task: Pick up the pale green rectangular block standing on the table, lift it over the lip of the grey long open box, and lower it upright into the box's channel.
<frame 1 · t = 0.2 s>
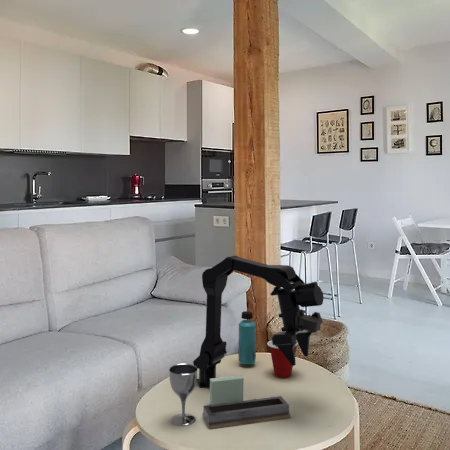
hand: (300, 360, 149), 15 cm above the table, tool pointing down, fingers open, 9 cm apart
beverage bottle: (246, 365, 186), on the table
grey long open box: (246, 417, 146), on the table
wine glass: (183, 420, 144), on the table
plastic cup: (282, 375, 177), on the table
pale green rectangular block: (226, 403, 155), on the table
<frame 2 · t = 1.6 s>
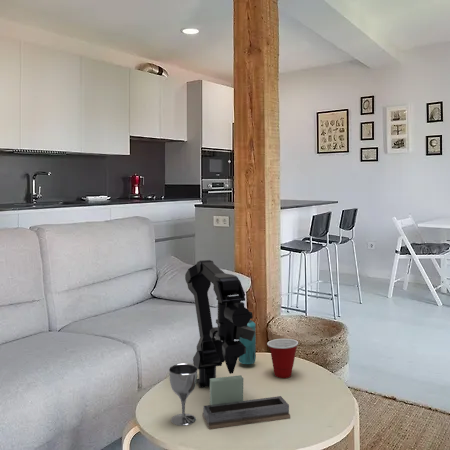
hand: (226, 367, 154), 11 cm above the table, tool pointing down, fingers open, 9 cm apart
nothing on the table moved.
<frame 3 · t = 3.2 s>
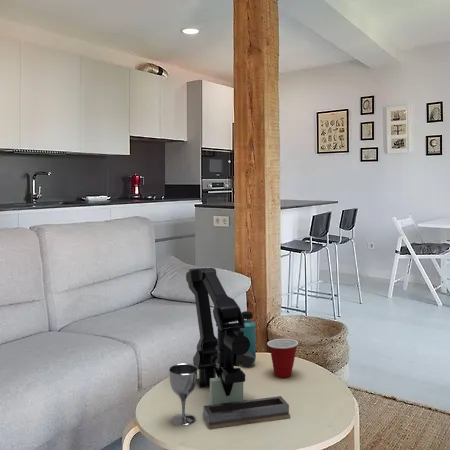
hand: (226, 393, 154), 3 cm above the table, tool pointing down, fingers closed on pale green rectangular block, 2 cm apart
pale green rectangular block: (226, 403, 155), on the table, touching gripper
everything else where it was.
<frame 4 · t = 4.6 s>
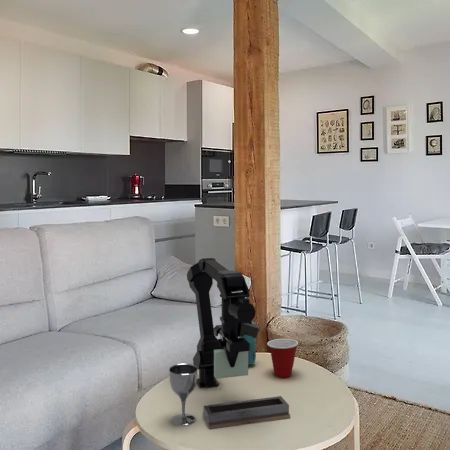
hand: (231, 365, 151), 13 cm above the table, tool pointing down, fingers closed on pale green rectangular block, 2 cm apart
pale green rectangular block: (231, 375, 152), point 10 cm above the table, touching gripper
everything else where it was.
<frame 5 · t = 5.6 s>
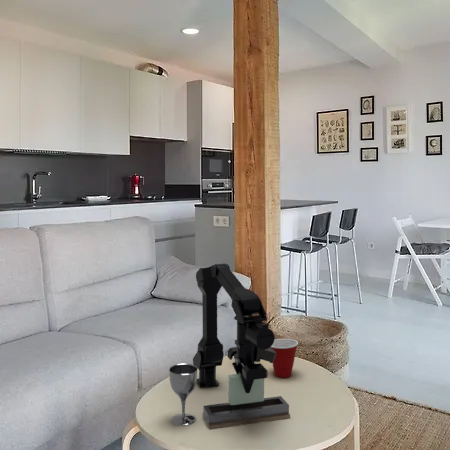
hand: (246, 391, 145), 8 cm above the table, tool pointing down, fingers closed on pale green rectangular block, 2 cm apart
pale green rectangular block: (246, 401, 146), point 5 cm above the table, touching gripper
everything else where it was.
when the fingers open (5 cm above the table, at t = 6.3 s): pale green rectangular block stays where it is, resting on grey long open box.
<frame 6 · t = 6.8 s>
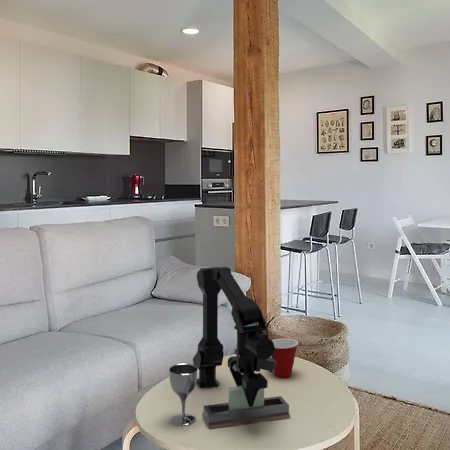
hand: (246, 400, 145), 5 cm above the table, tool pointing down, fingers open, 8 cm apart
pale green rectangular block: (246, 413, 146), point 1 cm above the table, touching grey long open box
everything else where it was.
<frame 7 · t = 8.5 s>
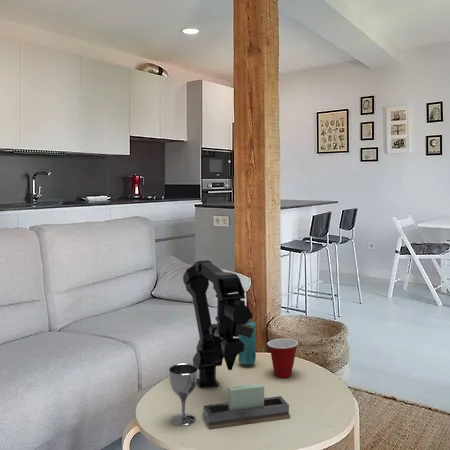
hand: (225, 364, 156), 12 cm above the table, tool pointing down, fingers open, 9 cm apart
nothing on the table moved.
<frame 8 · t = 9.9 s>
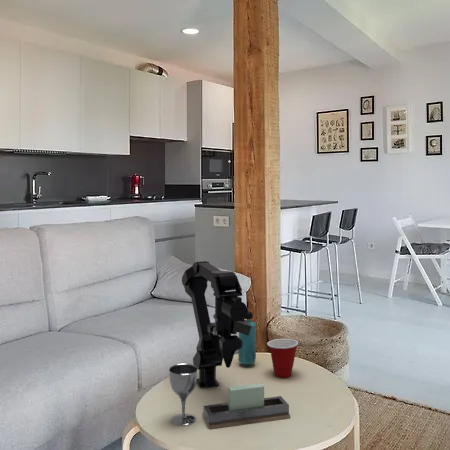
hand: (224, 361, 156), 12 cm above the table, tool pointing down, fingers open, 9 cm apart
nothing on the table moved.
at the end: pale green rectangular block inside the target area on the grey long open box (0.1 cm from its centre), point 1.0 cm above the grey long open box's base; pale green rectangular block tilted 0°; the gripper is holding nothing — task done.
